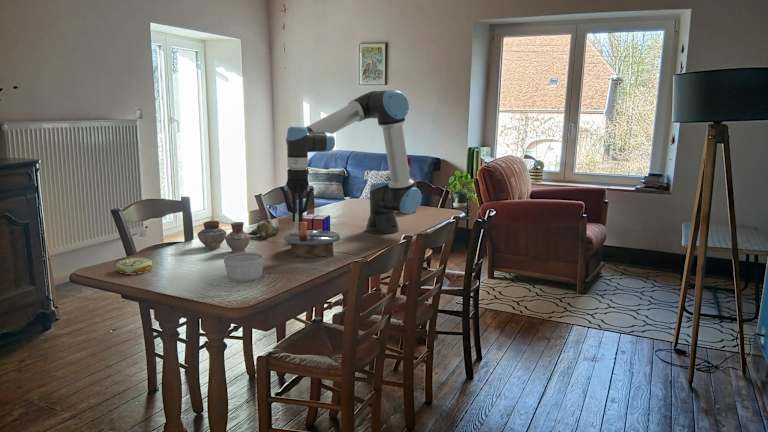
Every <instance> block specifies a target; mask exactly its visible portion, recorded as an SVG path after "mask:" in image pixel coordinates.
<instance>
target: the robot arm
mask: <svg viewBox="0 0 768 432" xmlns="http://www.w3.org/2000/svg"><path fill="white" fill-rule="evenodd" d="M409 107H410V104H409V101H408V98H407V96H406V95H405V94H404V93H403V92H401V91H399V90H395V89H394V90H393V89H389V90H388V89H386V90H372V91H369V92H366V93H364V94H361V95H360V96H358V97H356V98H354V99H352V100H351V101H348V103H347V105H346V106H344V107H342V108H340V109H338V110H337V111H335V112H333V113H330V114H329V115H327V116H324V117H322V118H321V119H319V120H317V121H315V122H313V123H311V124H310V125H309V124H308V126H306V127H305V126H289V127H288V128H287V130H286V131H287V132H286V138H285V141H286V143H285V144H286V148H287V149H286V150H287V151H286V152H287V153H286V154H287V155H286V159H287V161H286V162H287V168H288V169H287V171H286V172H287V174H286V175H287V176H286V177H287V178H286V180H287V181H286V184H284V185H283V186H281V187H280V191H281V192H282V193H283V198H284V201H285V206H286V209H287V212H289V213H291V215H292V222H293V223H294V232H297V231H299V222H302V221H303V218H304V217H303V214H305V213H307V212H308V209H309V206H310V202H311V198H312V195H313V192H314V191H315V187H313V186H311V185H310V184H309V178H308V177H309V175H308V172H309V171H308V169H307V168H308V167H309V165H308V164H309V160H308V158H309V156H308V153H323V152H324V153H326V152H327V153H328V152H331V151H333V150H334V148H335V145H336V139H335V136H334V135H333V134H335V133H337V132H339V131H341V130H343V129H344V128H346V127H349V126H350V125H352V124H354V123H355V122H358V123H361V122H362V121H365V120H369V119H377V124H378V126H379V127H380V128H382V133H383V139H384V146H385V151H386V152H385V153H386V157H387V158H386V159H387V165H388V171H389V177H390V181H389V180H387V181H378V182H372V183H371V184H370V185H369V216H368V220H367V222H366V223H367V224H366V225H365V226H366V227H365V228H366V232H368V233H371V234H379V235H381V234H393V233H397V232H399V231H400V230H399V223H398V221H397V217H396V212H397V213H400V212H402V213H403V214H412V213H413V212H414V213H416V212H417V210H418V209H419V207H420V205H421V203H422V199H423V198H422V197H423V196H422V192H421V190H420V189H419V188H415V184H414V180H415V179H414V180H412V179H411V178H410V174H409V167H408V160H407V158H408V156H407V155H408V154H407V149H406V142H405V134H404V129H403V128H404V127H403V124H404V123H405V122H406V116H407V115H408V111H409V110H410V108H409ZM288 190H289V191H290V192H291V198H290V193H289V192H288ZM306 190H307V193H306V197H305V200H304V194H305V193H304V192H305V191H306ZM415 211H416V212H415ZM402 213H401V214H402Z"/></svg>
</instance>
